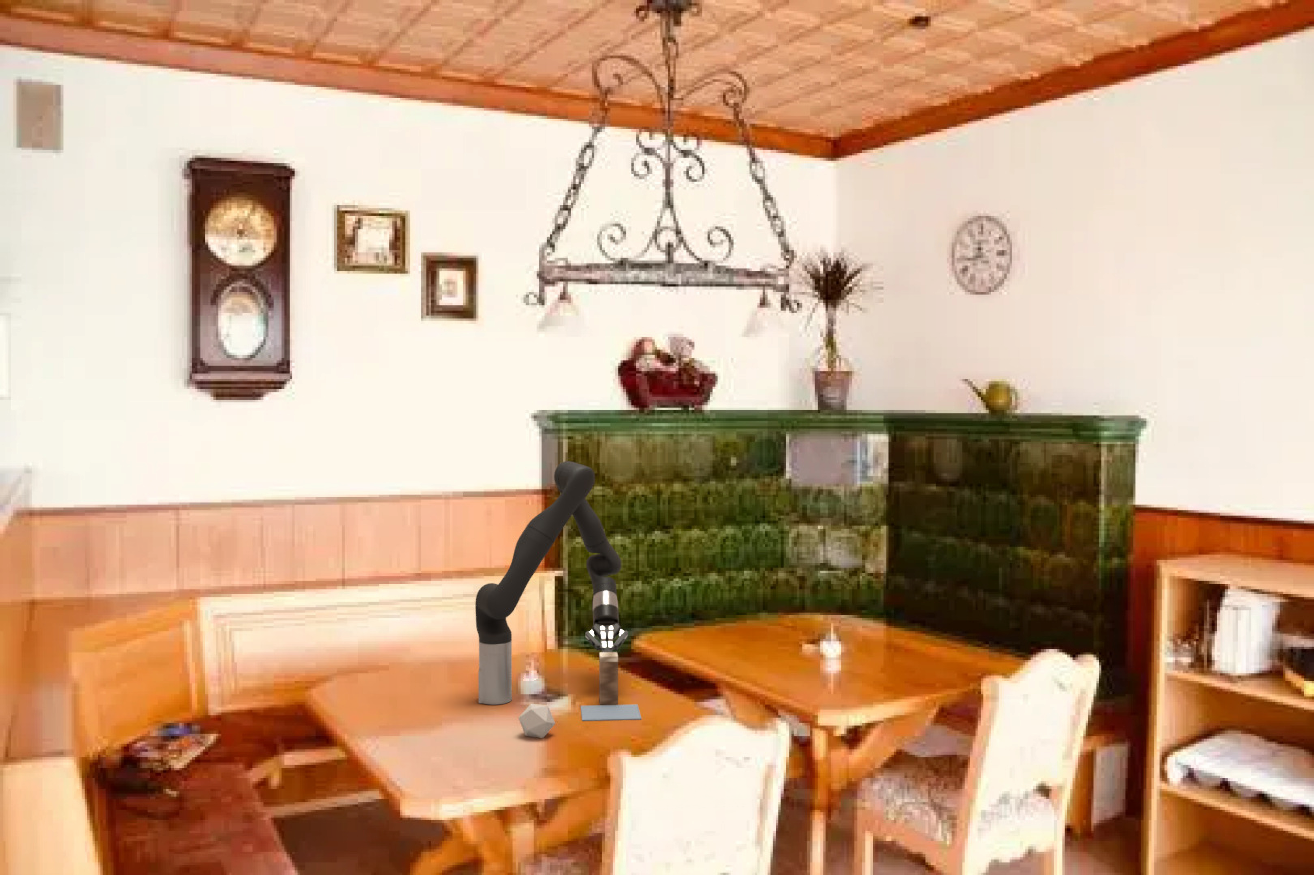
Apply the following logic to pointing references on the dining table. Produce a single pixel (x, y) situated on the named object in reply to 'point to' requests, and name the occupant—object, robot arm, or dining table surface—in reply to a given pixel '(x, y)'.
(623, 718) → the board
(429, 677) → the dining table surface
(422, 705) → the dining table surface
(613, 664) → the block
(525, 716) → the die
